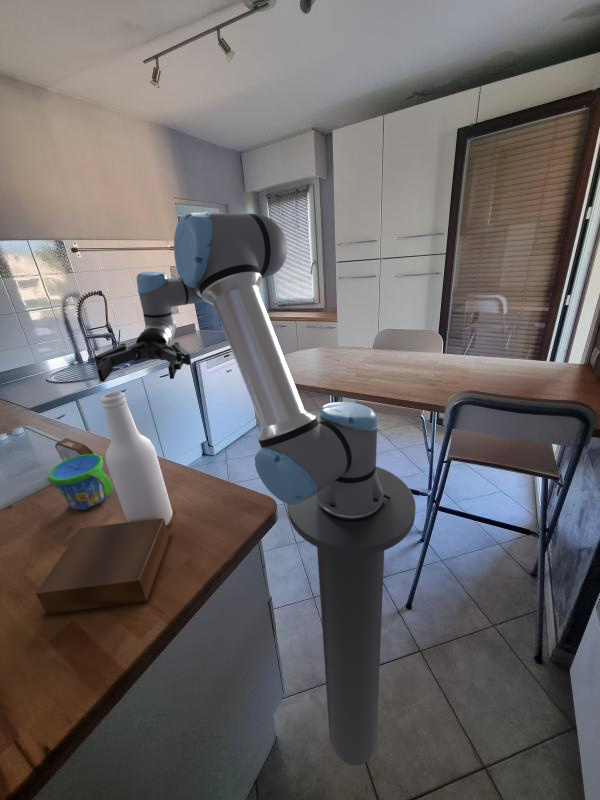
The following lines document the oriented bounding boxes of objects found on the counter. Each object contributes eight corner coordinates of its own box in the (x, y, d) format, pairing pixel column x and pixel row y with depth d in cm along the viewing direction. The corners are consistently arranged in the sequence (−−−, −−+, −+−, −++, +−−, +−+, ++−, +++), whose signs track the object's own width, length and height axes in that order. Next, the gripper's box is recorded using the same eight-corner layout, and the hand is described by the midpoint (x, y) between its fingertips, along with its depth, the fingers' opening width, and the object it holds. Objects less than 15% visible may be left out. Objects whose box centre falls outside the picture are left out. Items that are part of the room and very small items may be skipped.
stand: (169, 536, 68) (163, 517, 66) (146, 601, 55) (139, 580, 53) (88, 546, 67) (80, 527, 65) (46, 614, 54) (35, 593, 52)
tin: (102, 470, 92) (92, 444, 89) (91, 477, 90) (81, 450, 87) (71, 459, 99) (61, 434, 96) (60, 465, 97) (49, 440, 93)
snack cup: (130, 494, 82) (119, 459, 78) (91, 524, 73) (76, 486, 69) (88, 482, 88) (75, 448, 84) (47, 508, 79) (30, 472, 75)
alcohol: (143, 544, 67) (97, 408, 55) (122, 526, 72) (76, 398, 60) (181, 517, 73) (147, 391, 61) (159, 503, 78) (124, 383, 66)
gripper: (205, 353, 92) (200, 387, 73) (106, 356, 87) (75, 393, 69) (202, 326, 88) (196, 355, 70) (99, 328, 83) (64, 359, 65)
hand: (136, 374), depth 69 cm, fingers open, 13 cm apart
